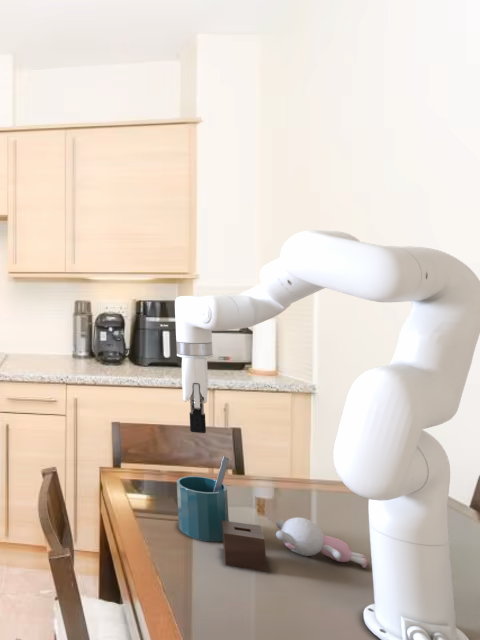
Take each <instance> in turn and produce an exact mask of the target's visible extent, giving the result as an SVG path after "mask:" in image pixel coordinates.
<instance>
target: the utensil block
mask: <svg viewBox="0 0 480 640" xmlns="http://www.w3.org/2000/svg"><path fill="white" fill-rule="evenodd" d="M222 531H223V540H222V547H223V557H224V564H225V565H227V566H231V567H237V568H243V569H247V570H248V569H249V570H253V571H260V572H267V570H268V569H267V556H266V554H267V553H266V541H265V535H264V533H263V529H262V526H261V525H259V524H258V525H257V524H250V523H245V522H244V523H243V522H238V521H237V522H236V521H223V520H222Z"/></svg>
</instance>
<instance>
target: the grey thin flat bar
mask: <svg viewBox="0 0 480 640" xmlns="http://www.w3.org/2000/svg"><path fill="white" fill-rule="evenodd" d="M229 461H230V458H229V457H226V456H223V457H222V460H221V463H220V466H219V470H218V474H217V477H216V479H215V480H216V484H215V487H214V491H213V492H218V491H220V490H221V486H222V483H223V482H224V479H225V476H226V471H227V469H228V465H229ZM223 484H224V483H223Z"/></svg>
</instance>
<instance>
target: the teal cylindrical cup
mask: <svg viewBox="0 0 480 640" xmlns="http://www.w3.org/2000/svg"><path fill="white" fill-rule="evenodd" d="M216 480H217V479H215V478H211V477H207V476H199V475H187V476H182V477H179V478H178V479H177V480H176V495H177V517H178V518H177V519H178V520H177V521H178V528H179V530H180V531H181V533H183V534H184V535H186V536H188V537H190V538H192V539H196V540H199V541H203V542H221V541H222V542H223V531H222V520H223V521H229V520H230V519H229V502H228V487H227V485H226V484H224V483H222V486H221V490H220V491H218V492H213V491H214V487H215V484H216Z"/></svg>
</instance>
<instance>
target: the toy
mask: <svg viewBox="0 0 480 640" xmlns="http://www.w3.org/2000/svg"><path fill="white" fill-rule="evenodd" d="M275 525H276V527H277V529H278V530H276V533H275V536H276V539H278V540H280V541H281V542H282V543H284V545H285V547H286V548H288V549H289V550H290V551H292V552H293V553H295V554H297V555H299V556H304V557H310V556H311V557H312V556H315V555H317V554H318V553H321V554H323V555H325V556H326V557H328V558H330V559H332V560H333V561H336V562H338V563H348V562H349V561H351V562H354V563H356V564H359V565H360V566H361V567H362V568H363V569H366V568H367V565H368V560H367V558H366V556H365V554H363V553H359V552H354V551H352V549H351V547H350V545H348V544H347V542H345V541H343V540H342V539H339V538H337V537H334V536H331V535H326V534H323V531H322V530H321V528H320V527H319V526H318V525H317V524H316V523H314V522H313V521H312V520H309V519H307V518H304V517H292V518H289V519H287V520H286V521H284V520H282V519H278V520H277V521H276V523H275Z"/></svg>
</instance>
